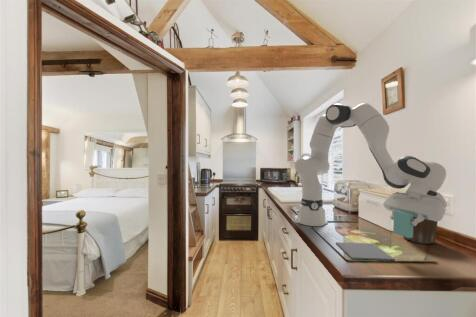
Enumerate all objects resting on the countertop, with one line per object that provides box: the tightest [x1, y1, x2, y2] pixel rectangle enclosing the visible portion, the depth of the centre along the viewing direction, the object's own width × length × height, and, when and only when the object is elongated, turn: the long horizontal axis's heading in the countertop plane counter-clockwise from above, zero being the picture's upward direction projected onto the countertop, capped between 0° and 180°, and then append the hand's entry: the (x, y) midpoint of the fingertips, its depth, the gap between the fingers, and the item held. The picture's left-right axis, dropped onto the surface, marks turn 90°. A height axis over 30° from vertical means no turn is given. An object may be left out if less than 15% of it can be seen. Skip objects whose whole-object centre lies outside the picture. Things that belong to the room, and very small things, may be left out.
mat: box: [335, 241, 396, 261], centre depth 96 cm, size 16×16×1 cm
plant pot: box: [402, 216, 439, 245], centre depth 112 cm, size 16×16×16 cm
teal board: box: [392, 210, 414, 238], centre depth 91 cm, size 2×6×9 cm, turn 23°
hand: (402, 221), depth 91 cm, fingers closed on teal board, 6 cm apart
